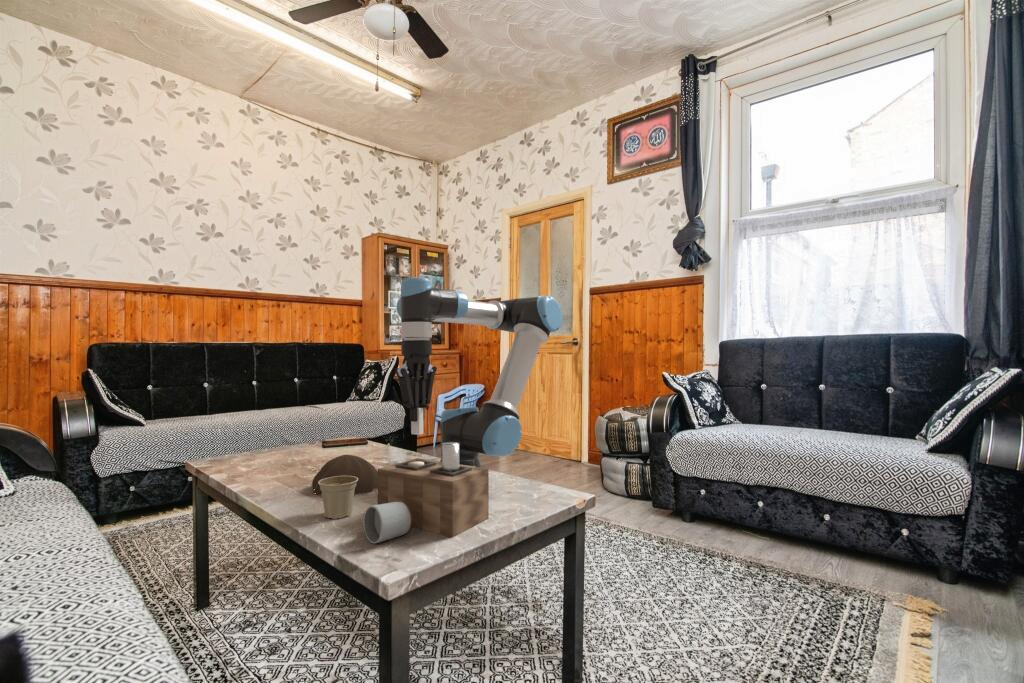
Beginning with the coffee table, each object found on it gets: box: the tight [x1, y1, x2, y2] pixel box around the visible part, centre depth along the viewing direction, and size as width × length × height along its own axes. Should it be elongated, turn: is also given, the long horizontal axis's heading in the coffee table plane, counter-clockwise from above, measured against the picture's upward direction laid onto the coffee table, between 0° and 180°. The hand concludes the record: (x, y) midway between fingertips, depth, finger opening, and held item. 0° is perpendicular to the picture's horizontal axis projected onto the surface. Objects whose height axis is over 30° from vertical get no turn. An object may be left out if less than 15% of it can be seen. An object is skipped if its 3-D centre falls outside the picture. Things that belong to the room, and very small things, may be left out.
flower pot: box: [318, 476, 358, 520], centre depth 119 cm, size 9×9×9 cm
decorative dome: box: [311, 454, 378, 496], centre depth 144 cm, size 19×20×10 cm
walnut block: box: [376, 457, 490, 538], centre depth 117 cm, size 14×23×13 cm, turn 59°
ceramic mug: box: [362, 502, 411, 544], centre depth 106 cm, size 11×8×8 cm
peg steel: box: [442, 442, 459, 473], centre depth 114 cm, size 4×4×11 cm
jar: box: [459, 455, 475, 467], centre depth 129 cm, size 9×8×12 cm
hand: (417, 433), depth 120 cm, fingers closed
